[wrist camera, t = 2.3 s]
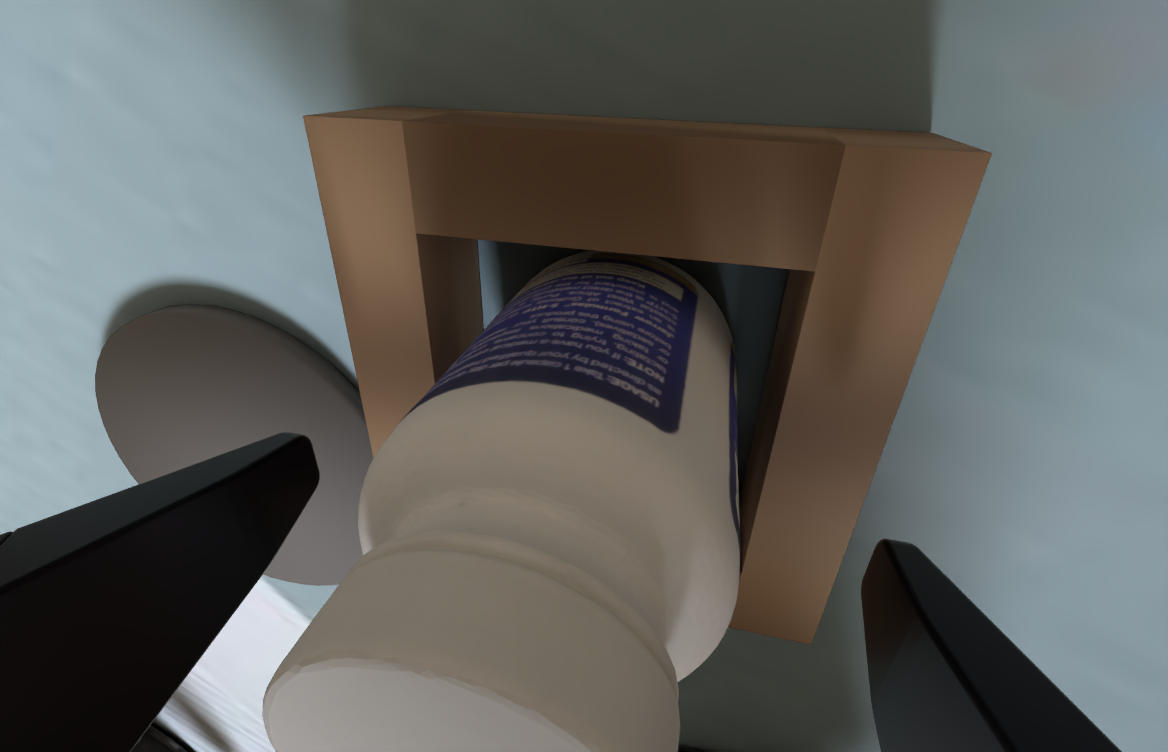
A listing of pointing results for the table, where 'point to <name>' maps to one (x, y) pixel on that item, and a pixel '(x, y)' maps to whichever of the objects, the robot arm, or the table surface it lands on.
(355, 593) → the pill bottle
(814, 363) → the collar block
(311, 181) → the table surface
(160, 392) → the mat
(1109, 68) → the table surface
